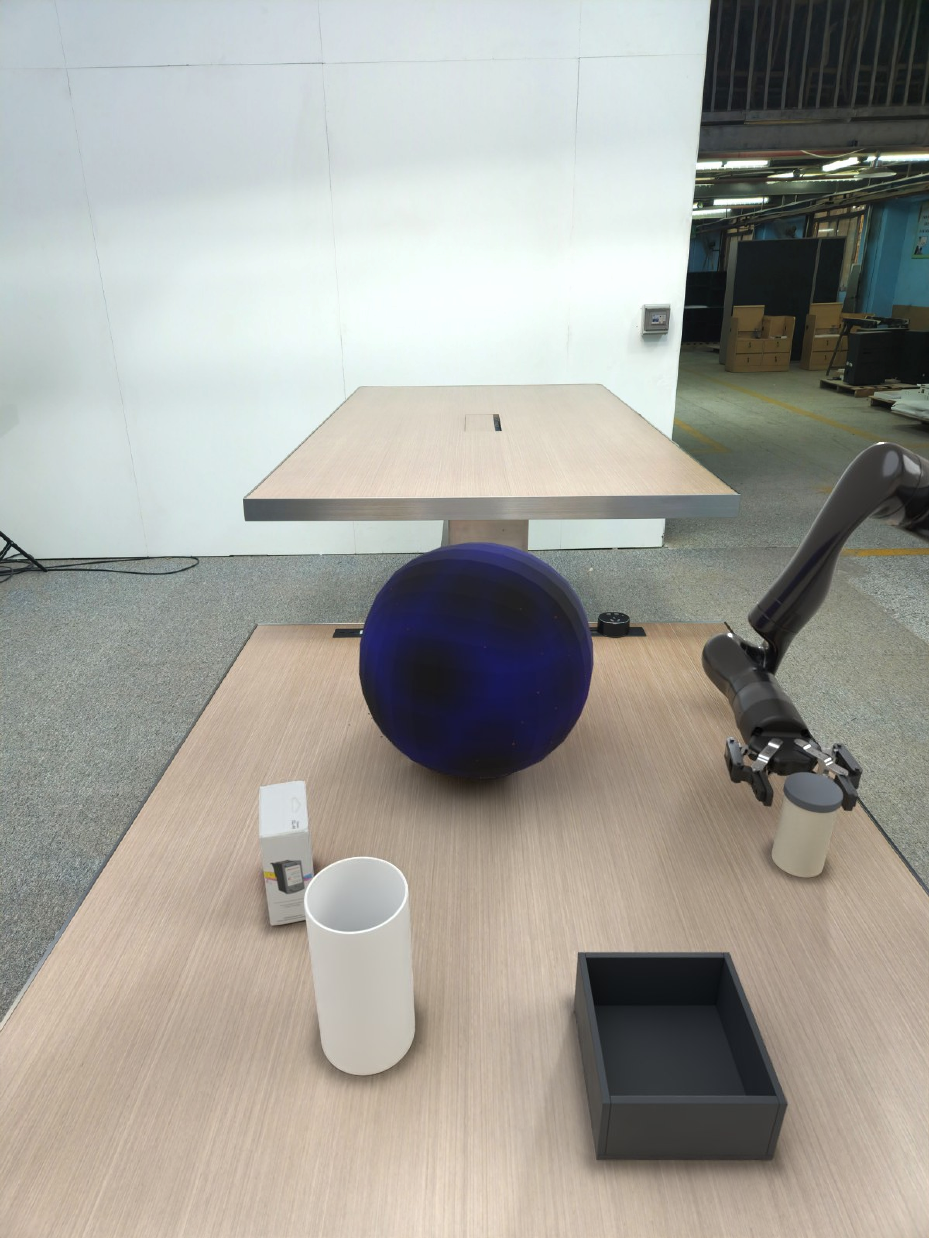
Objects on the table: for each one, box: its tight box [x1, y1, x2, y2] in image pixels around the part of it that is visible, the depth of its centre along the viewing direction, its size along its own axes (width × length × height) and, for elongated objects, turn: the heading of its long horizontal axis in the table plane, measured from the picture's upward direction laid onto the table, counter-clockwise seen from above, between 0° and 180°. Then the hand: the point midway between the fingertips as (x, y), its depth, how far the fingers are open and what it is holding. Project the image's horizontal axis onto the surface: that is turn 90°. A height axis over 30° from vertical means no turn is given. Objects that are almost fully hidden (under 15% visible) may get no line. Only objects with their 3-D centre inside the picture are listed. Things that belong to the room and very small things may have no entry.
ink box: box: [258, 780, 315, 926], centre depth 78 cm, size 9×5×12 cm, turn 14°
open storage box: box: [573, 951, 789, 1161], centre depth 61 cm, size 13×13×7 cm
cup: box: [304, 856, 416, 1076], centre depth 63 cm, size 8×8×16 cm
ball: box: [348, 529, 595, 780], centre depth 99 cm, size 35×31×30 cm
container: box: [771, 772, 843, 879], centre depth 83 cm, size 6×6×10 cm
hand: (810, 802), depth 81 cm, fingers open, 8 cm apart
